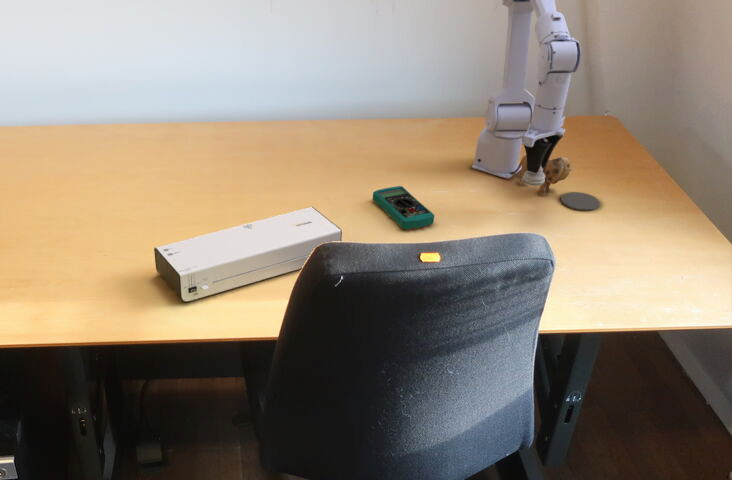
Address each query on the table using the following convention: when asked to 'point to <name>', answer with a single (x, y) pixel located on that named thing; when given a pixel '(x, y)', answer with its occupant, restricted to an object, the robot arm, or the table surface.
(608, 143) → the table surface
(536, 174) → the chess piece
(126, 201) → the table surface
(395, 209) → the digital multimeter
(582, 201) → the coaster
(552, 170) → the lion figurine
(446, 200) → the table surface
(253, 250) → the laminator
